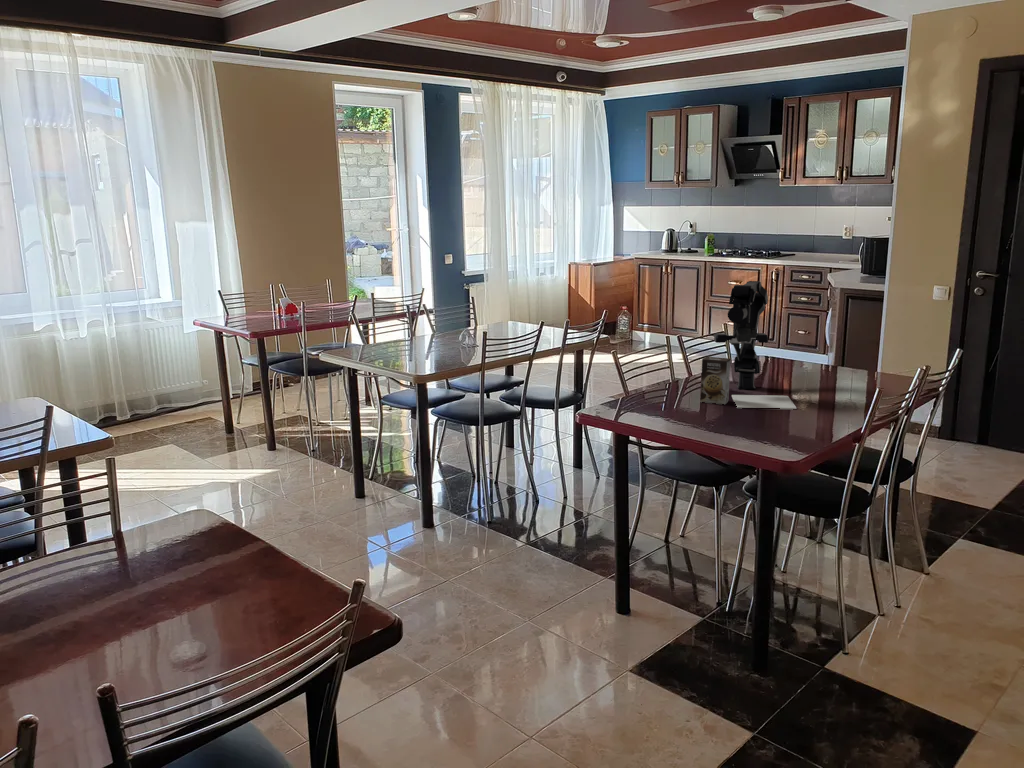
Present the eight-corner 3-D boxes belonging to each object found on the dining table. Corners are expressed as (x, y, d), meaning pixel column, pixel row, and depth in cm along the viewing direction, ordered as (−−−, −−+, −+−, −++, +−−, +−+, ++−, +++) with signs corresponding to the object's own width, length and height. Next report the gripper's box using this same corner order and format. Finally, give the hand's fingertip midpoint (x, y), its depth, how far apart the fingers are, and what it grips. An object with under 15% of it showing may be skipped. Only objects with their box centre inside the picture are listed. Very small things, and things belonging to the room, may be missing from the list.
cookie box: (699, 402, 287) (701, 359, 283) (704, 398, 292) (705, 356, 289) (725, 405, 282) (726, 360, 279) (729, 401, 288) (730, 357, 284)
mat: (731, 396, 295) (731, 394, 295) (787, 397, 292) (787, 395, 291) (737, 408, 277) (737, 406, 277) (796, 409, 274) (796, 407, 274)
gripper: (718, 322, 284) (717, 364, 287) (772, 322, 282) (770, 365, 285) (714, 318, 295) (713, 359, 298) (766, 317, 292) (763, 359, 296)
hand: (739, 360), depth 294 cm, fingers closed
